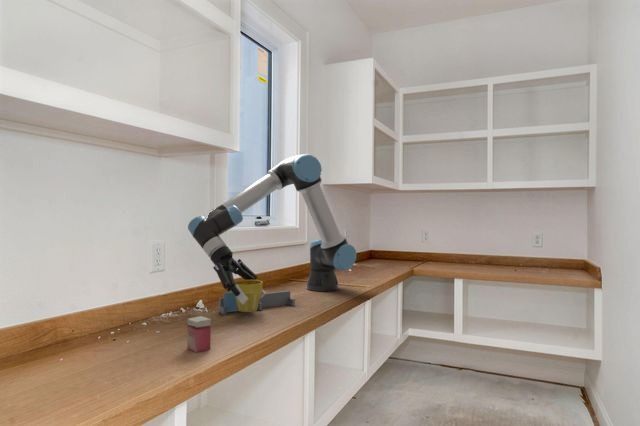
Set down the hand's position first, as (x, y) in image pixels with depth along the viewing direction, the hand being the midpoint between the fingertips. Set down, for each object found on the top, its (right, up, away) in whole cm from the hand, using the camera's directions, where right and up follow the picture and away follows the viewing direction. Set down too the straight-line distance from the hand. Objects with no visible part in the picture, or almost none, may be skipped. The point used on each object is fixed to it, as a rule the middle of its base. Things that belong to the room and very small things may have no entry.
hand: (254, 299), depth 143 cm
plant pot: (-3, -4, +1) cm, 5 cm away
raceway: (0, -6, +11) cm, 12 cm away
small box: (-9, -6, -35) cm, 37 cm away
